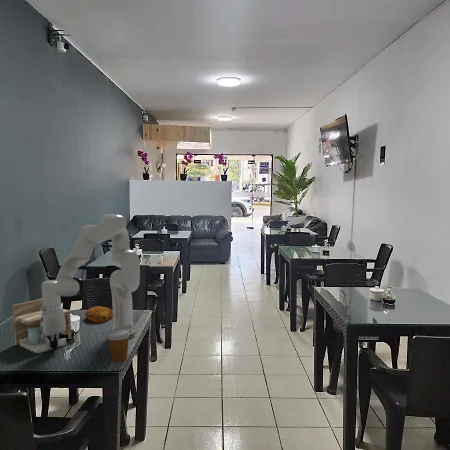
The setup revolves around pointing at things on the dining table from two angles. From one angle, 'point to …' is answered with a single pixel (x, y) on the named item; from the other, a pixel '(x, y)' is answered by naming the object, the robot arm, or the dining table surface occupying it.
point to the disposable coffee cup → (118, 344)
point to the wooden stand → (32, 318)
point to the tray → (40, 346)
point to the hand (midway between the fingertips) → (54, 348)
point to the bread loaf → (99, 314)
